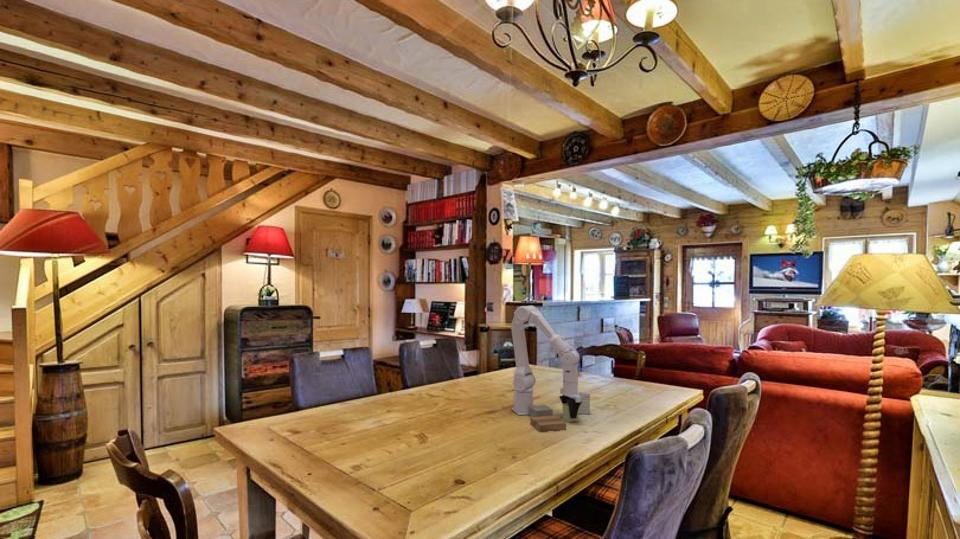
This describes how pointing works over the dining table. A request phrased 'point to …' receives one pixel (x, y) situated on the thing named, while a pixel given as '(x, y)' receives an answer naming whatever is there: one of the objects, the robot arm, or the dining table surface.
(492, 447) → the dining table surface
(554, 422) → the walnut block
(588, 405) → the medicine box
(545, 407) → the grey block
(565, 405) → the sage block
